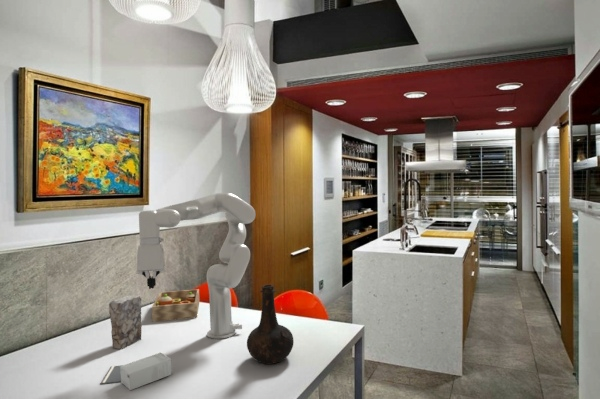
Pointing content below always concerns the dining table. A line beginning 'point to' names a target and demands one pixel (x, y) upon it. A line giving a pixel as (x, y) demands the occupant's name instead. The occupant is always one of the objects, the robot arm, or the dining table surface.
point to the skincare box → (145, 370)
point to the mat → (112, 375)
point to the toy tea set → (175, 300)
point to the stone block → (125, 321)
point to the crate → (176, 306)
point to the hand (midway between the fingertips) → (151, 287)
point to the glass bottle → (269, 333)
